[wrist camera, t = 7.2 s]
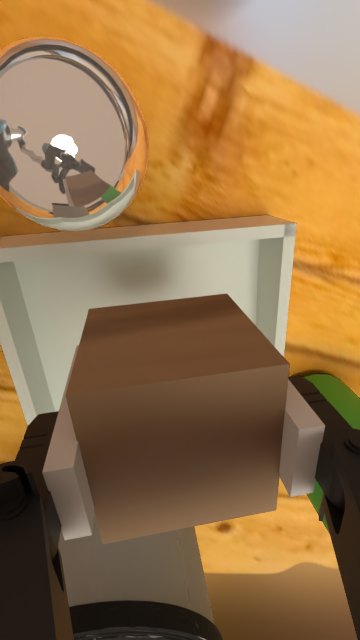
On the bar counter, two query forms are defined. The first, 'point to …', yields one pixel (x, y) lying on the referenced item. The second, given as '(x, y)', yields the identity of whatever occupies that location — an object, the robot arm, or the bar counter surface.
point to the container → (137, 587)
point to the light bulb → (68, 135)
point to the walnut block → (177, 415)
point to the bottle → (346, 404)
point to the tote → (131, 286)
